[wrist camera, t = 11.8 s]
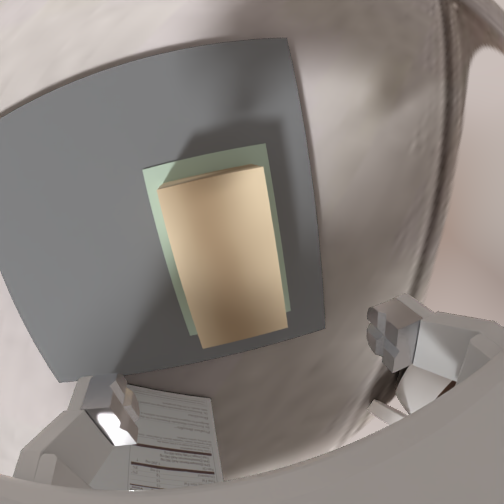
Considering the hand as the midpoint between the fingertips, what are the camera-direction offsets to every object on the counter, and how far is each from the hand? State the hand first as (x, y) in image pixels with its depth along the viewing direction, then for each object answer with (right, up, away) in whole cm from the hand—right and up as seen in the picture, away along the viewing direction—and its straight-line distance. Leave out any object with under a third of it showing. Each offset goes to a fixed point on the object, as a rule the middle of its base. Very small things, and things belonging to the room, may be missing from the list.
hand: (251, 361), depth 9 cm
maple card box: (-2, +4, +9) cm, 10 cm away
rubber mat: (-7, +5, +8) cm, 12 cm away
